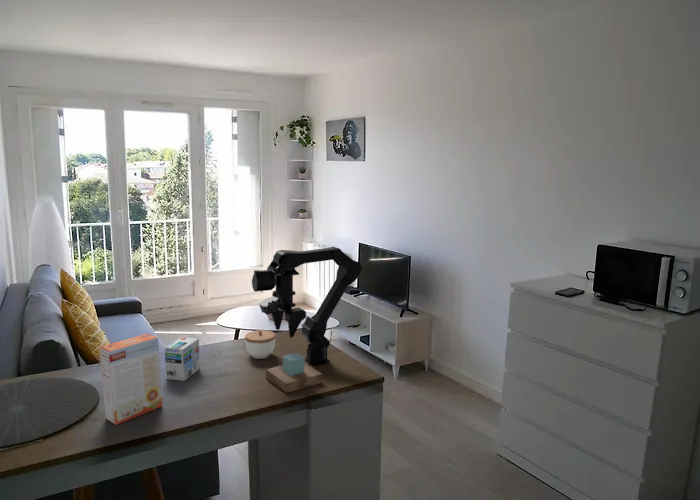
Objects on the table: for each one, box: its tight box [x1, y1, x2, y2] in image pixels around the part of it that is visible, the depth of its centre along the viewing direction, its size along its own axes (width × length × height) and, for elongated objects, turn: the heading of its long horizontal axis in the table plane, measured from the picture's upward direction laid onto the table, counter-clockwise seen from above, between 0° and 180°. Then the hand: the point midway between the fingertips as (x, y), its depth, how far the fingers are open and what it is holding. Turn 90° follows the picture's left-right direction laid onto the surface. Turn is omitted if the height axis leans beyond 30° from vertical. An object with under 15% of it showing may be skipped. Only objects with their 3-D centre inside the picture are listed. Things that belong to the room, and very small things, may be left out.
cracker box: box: [99, 333, 163, 426], centre depth 141 cm, size 14×6×21 cm, turn 140°
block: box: [282, 352, 305, 376], centre depth 164 cm, size 5×5×5 cm
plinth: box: [265, 362, 323, 394], centre depth 165 cm, size 13×13×3 cm
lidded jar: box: [244, 329, 276, 359], centre depth 185 cm, size 11×11×9 cm
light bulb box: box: [164, 336, 201, 382], centre depth 168 cm, size 11×7×11 cm, turn 168°
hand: (284, 333), depth 173 cm, fingers open, 9 cm apart
